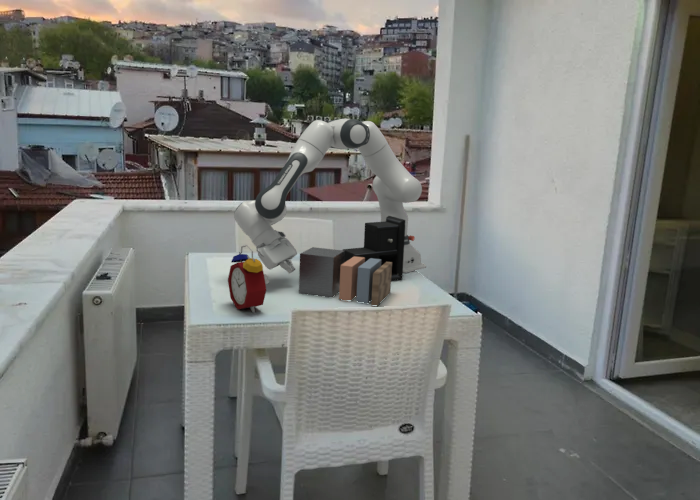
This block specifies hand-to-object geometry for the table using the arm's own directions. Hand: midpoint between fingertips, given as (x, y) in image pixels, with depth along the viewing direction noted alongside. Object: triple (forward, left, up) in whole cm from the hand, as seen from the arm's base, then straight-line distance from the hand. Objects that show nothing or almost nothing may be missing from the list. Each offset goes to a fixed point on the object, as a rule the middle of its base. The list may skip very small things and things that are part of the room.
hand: (292, 271), depth 199 cm
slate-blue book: (-16, +23, -6) cm, 29 cm away
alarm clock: (+24, +14, -6) cm, 28 cm away
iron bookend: (-6, +9, -6) cm, 12 cm away
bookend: (-31, +5, -6) cm, 32 cm away
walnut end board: (-19, +26, -6) cm, 33 cm away
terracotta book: (-13, +18, -6) cm, 23 cm away
